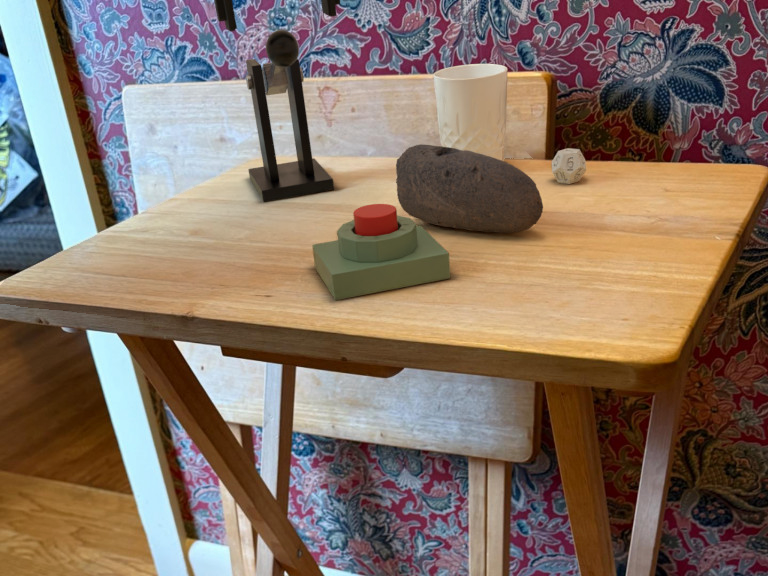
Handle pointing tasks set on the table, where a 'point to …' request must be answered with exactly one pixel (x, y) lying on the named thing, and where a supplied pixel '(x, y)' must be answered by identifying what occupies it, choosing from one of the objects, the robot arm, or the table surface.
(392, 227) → the button
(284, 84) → the lever
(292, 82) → the bracket
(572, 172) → the game die
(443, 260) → the button block
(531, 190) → the perforated stone tool
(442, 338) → the table surface
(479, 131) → the white cup
